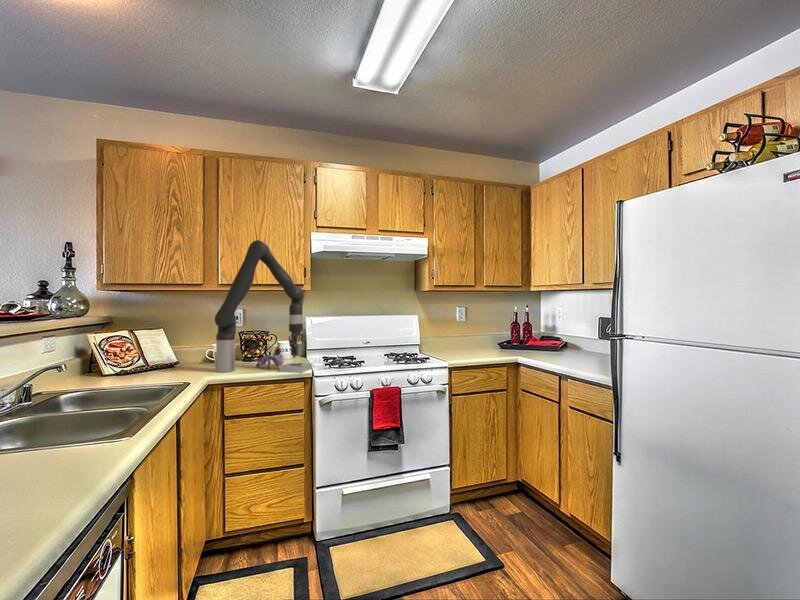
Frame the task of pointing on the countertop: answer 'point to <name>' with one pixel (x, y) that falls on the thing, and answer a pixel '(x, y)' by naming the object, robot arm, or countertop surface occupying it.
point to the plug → (297, 349)
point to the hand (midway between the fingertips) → (296, 353)
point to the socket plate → (295, 367)
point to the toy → (276, 359)
